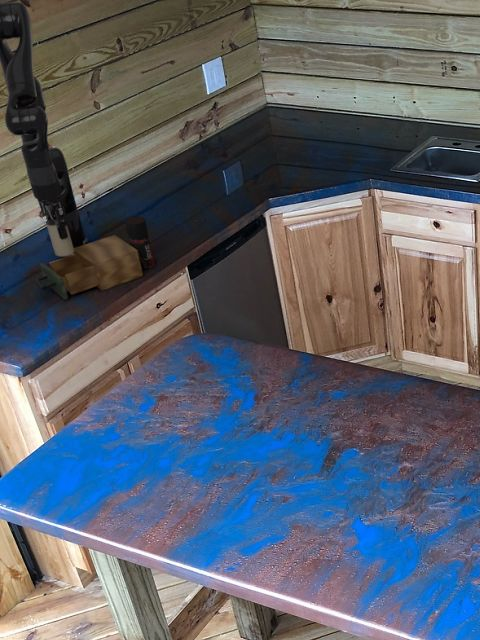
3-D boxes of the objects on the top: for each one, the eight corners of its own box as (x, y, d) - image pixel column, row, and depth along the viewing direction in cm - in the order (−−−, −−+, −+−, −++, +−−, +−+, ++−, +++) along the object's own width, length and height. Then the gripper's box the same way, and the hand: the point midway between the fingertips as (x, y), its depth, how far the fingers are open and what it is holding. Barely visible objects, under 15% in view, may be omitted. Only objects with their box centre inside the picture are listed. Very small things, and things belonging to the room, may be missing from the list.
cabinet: (101, 290, 275) (94, 264, 270) (80, 274, 284) (72, 248, 279) (143, 275, 283) (137, 249, 277) (121, 260, 291) (114, 234, 286)
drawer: (50, 304, 267) (43, 283, 263) (31, 288, 275) (24, 268, 271) (104, 285, 276) (98, 265, 272) (84, 270, 284) (78, 250, 280)
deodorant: (149, 269, 286) (139, 225, 277) (132, 268, 287) (121, 223, 278) (158, 261, 290) (148, 217, 281) (140, 260, 291) (130, 215, 282)
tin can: (51, 252, 270) (42, 220, 264) (69, 246, 273) (60, 215, 267) (59, 258, 267) (50, 226, 261) (77, 252, 270) (68, 221, 264)
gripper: (67, 183, 254) (82, 239, 264) (45, 168, 262) (61, 223, 273) (41, 190, 250) (57, 247, 261) (20, 175, 259) (37, 231, 269)
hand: (59, 234), depth 267 cm, fingers closed on tin can, 5 cm apart
